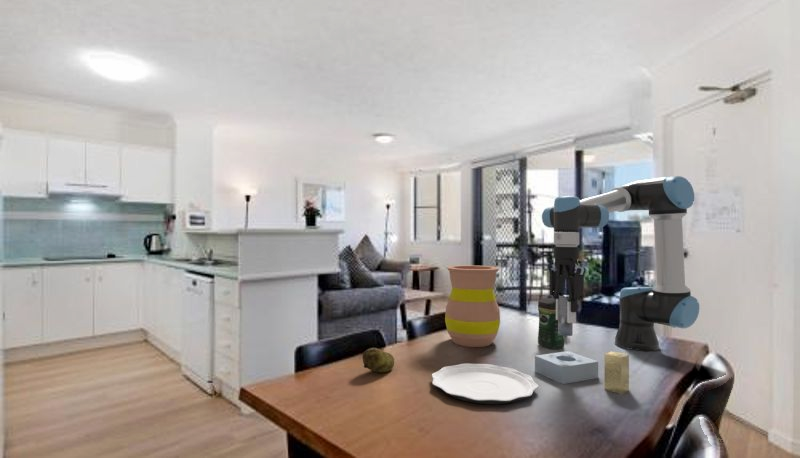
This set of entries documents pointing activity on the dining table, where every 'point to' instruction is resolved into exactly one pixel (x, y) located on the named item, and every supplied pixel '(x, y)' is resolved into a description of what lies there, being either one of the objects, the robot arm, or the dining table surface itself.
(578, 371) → the bore block
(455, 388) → the plate
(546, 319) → the coffee jar
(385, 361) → the potato
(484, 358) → the dining table surface
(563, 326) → the round bit
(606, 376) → the square bit
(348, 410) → the dining table surface
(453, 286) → the vase
